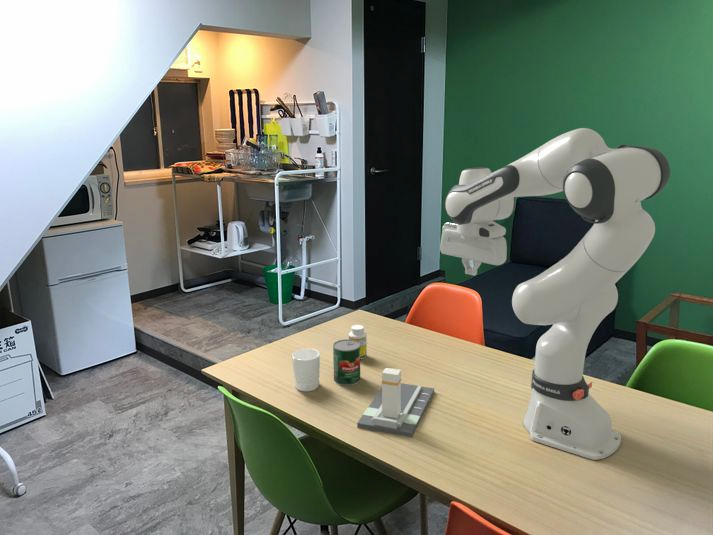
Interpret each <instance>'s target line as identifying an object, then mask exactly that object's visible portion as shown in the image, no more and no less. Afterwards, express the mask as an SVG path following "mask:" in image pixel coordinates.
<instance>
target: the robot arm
mask: <svg viewBox="0 0 713 535" xmlns="http://www.w3.org/2000/svg"><path fill="white" fill-rule="evenodd" d="M670 177H671V167H670V163H669V160H668V159H667V157H666V156H665V154H663V153H662V152H661V151H659V150H658V149H656V148H652V147H650V146H649V147H648V146H640V145H639V146H637V145H630V144H620V145H619V146H617V148H611V147H608V146H607V144H606V142H605V140H604V139H603V137H602V136H601V135H600V134H599V133H598V131H596V130H593V129H592V128H591V129H590V128H588V127H581V128H576V129H572V130H570V131H567V132H564V133H562V134H559V135H558V136H555V137H554V138H552V139H550V140H548V141H546V142H545V143H544V144H542V145H541V146H539V147H537V148H535V149H534V150H532V151H531V152H528V153H527V154H525V155H524V156H521V157H520V158H518V159H517V160H515V161H513V162H511V163H509V164H507V165H505V166H503V167H501V168H499V169H497V170H495V171H491V169H490V168H489V167H486V166H481V167H479V166H478V167H469V168H465V169H463V170H462V171H461V173H460V176H459V182H458V184H454V186H452V188H451V189H450V190H449V191H448V193H447V195H446V197H445V199H444V210H445V212H446V214H447V216H448V217H449V218H450V220H452V222H450V221H449V222H446V223H444V224H443V225H442V227H441V228H442V230H441V237H440V245H439V250H440V252H441V254H442V255H446V256H452V257H456V258H461V263H462V265H463V267H464V274H465V275H470V276H473V277H474V276H476V275H477V274H478V269H479V268H480V266H481V265H482V263H483V264H488V265H492V266H500V265H503V264H504V263H506V261H507V255H508V253H507V252H508V246H507V239H506V238H505V237H504V236H505V235H506V233H507V229H506V227H505V226H502V225H500V224H499V223H497V222H496V221H500V220H504V219H507V218H510V217H511V216H512V215H513V213H514V211H515V209H516V205H517V197H518V198H519V197H539V196H540V197H541V196H548V195H549V196H550V195H554V194H557V193H561V192H562V193H563V196H564V198H565V201H567V204H569V206H570V207H571V208H572V209H573V211H574V212H575V213H577V214H578V215H580V216H581V218H582V219H583V221H586V222H587V223H589V224H593V225H592V226H591V228H590V229H589V230H588V231H587V232H586V233H585V235H584V236H583V237H582V239H580V241H579V242H578V243H577V245H576V246H574V247H573V249H572V250H571V251H570V252H569V253H568V254H566V256H564V258H561V259H560V260H559V261H558V262H557V263H555V264H553V265H552V266H550V267H549V268H548V269H546V270H544V271H543V272H541V273H540V274H538V275H536V276H534V277H533V278H530V279H528V280H526V281H524V282H521V283H519V284H518V285H516V287H515V289H514V291H513V294H512V297H511V298H512V299H511V305H512V309H513V312H514V315H515V317H517V318H518V320H520V321H521V322H522V323H523V324H525V325H534V326H550V325H552V326H551V327H550V328H549V329H548V330H547V331H546V332H545V333H543V334H542V335H541V336H540V337H539V339H538V340H537V343H536V347H535V355H534V356H535V358H534V368H533V369H532V371H531V372H532V373H531V384H530V387H531V388H530V389H531V394H530V400H529V403H528V407H527V411H526V413H525V416H524V418H523V421H522V422H523V426H524V427H525V429H526V430H527V431H528V432H529V438H530V440H532V441H533V442H536V443H539V444H541V445H546V446H548V447H552V448H555V449H558V450H561V451H565V452H568V453H570V454H574V455H577V456H580V457H583V458H586V459H589V460H593V461H596V460H598V461H599V460H602V459H605V458H607V457H610V456H611V455H612V454H614V453H616V452H617V450H618V449H619V448H620V447H621V445H622V444H621V443H622V437H621V434H620V433H619V432H618V431H616V430H614V429H613V427H612V426H613V425H612V418H611V416H610V414H609V412H608V411H607V410H605V409H604V407H602V405H601V404H600V403H599V402H598V401H597V400H596V399H595V398H594V397H593V396H592V395H591V394H590V389H591V388H592V387H593V382H592V381H591V382H589V383H588V384H587V381H586V380H585V378H584V366H585V360H586V354H587V349H588V346H589V344H590V341H591V339H592V336H593V334H594V333H595V331H596V329H597V328H598V326H599V325H600V323H601V322H602V321H603V320H604V319H606V316H608V315H609V314H610V313H612V312H613V311H614V310H615V309H616V306H617V304H618V300H619V293H618V292H619V291H618V288H617V286H616V283H618V281H619V280H620V279H622V277H623V276H624V275H626V273H627V272H629V270H631V268H632V267H633V266H634V265H635V264H636V263H637V262H638V261H639V260H640V258H641V257H642V255H643V254H644V253H645V252H646V250H647V249H648V247H649V246H650V244H651V242H652V240H653V239H654V236H655V233H656V225H655V221H654V220H653V218H652V216H651V215H650V213H648V212H647V211H646V210H644V209H643V207H642V202H641V201H645V200H649V199H651V198H653V197H655V196H656V195H658V194H659V193H660V192H662V190H664V189H665V187H666V186H667V185H668V183H669V181H670ZM470 261H472V265H473V266H472V267H471V263H470Z"/></svg>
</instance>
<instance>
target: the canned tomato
mask: <svg viewBox="0 0 713 535" xmlns="http://www.w3.org/2000/svg"><path fill="white" fill-rule="evenodd" d="M332 352H333V353H332V355H333V357H332V358H333V381H335V382H336V385H339V384H340V385H339V386H344V385H349V386H353V384H354V385H356V383H357V384H358V383H359V382H361V360H360V343H359V342H357V341H355V340H349V338H347V339H339V340H337V341H334V342H333V344H332ZM335 382H334V383H335Z"/></svg>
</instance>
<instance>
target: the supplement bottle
mask: <svg viewBox="0 0 713 535" xmlns="http://www.w3.org/2000/svg"><path fill="white" fill-rule="evenodd" d="M364 328H365V327H364V326H363V325H361V324H354V325H351V328H350V332H348V339H349V340H355V341H357V342H359V343H360V359H361V360H364V359H365V358H367V350H368V349H367V348H368V347H367V346H368V345H367V344H368V343H367V333H366V331H365V329H364Z"/></svg>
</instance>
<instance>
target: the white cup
mask: <svg viewBox="0 0 713 535" xmlns="http://www.w3.org/2000/svg"><path fill="white" fill-rule="evenodd" d="M291 358H292V370H293V378H294V386H295V388H296V390H298V391H301V392H311V391H315V390H317V389H318V388H319V385H320V369H321V368H320V366H321V352H320V351H319V350H317V349H314V348H300V349H297V350H295V351H293V352H292V354H291ZM316 388H317V389H316Z"/></svg>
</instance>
